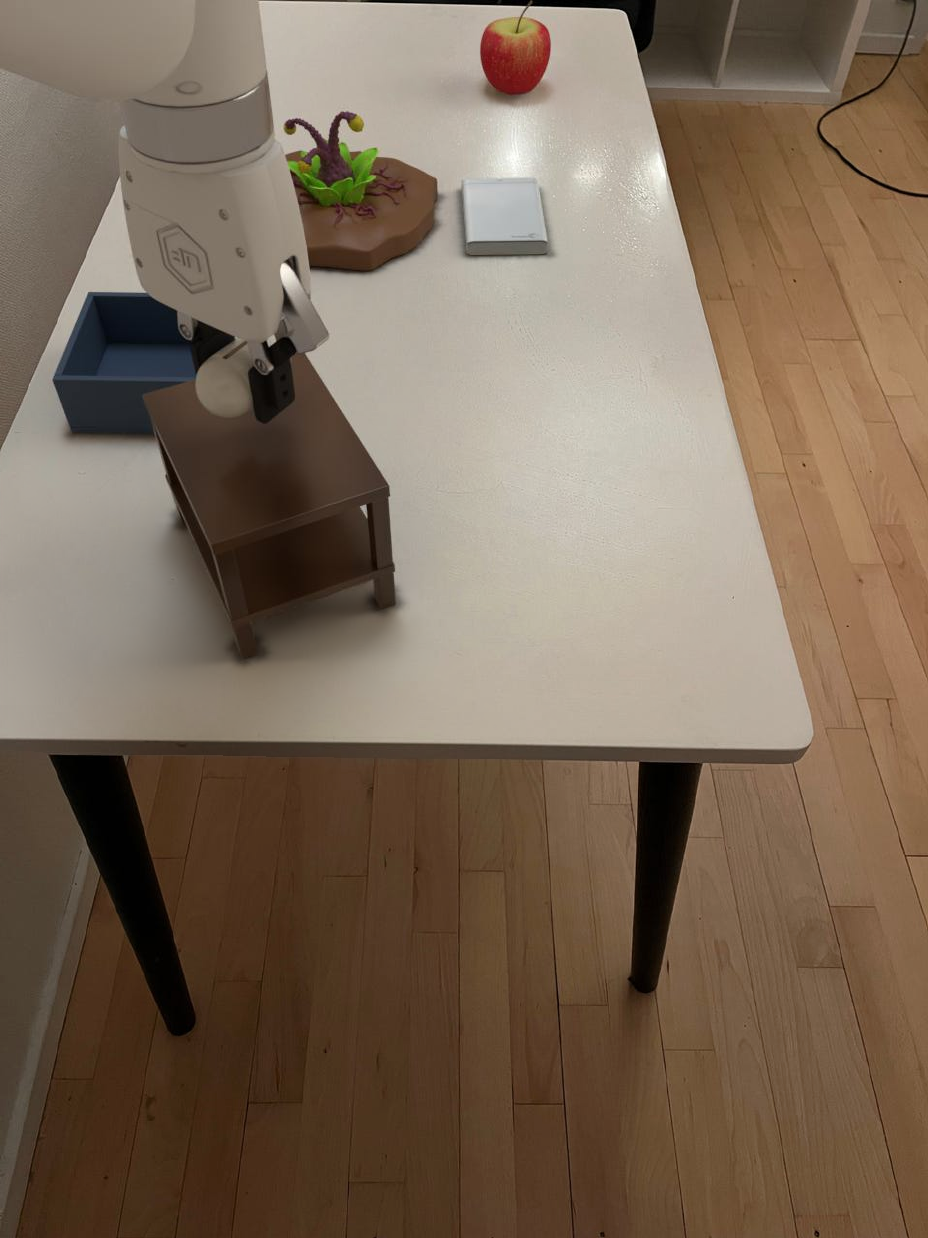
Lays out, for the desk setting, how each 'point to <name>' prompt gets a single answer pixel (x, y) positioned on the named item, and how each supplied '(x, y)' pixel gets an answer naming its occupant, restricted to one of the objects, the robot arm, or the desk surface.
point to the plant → (357, 200)
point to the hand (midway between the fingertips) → (247, 395)
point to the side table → (276, 500)
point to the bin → (120, 362)
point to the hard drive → (503, 216)
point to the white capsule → (227, 380)
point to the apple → (515, 53)
